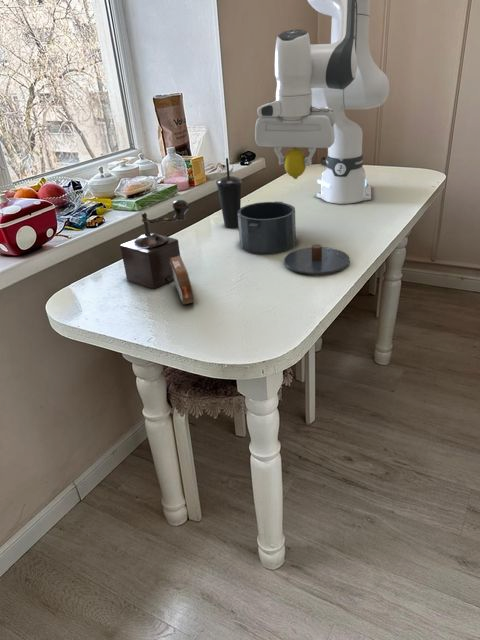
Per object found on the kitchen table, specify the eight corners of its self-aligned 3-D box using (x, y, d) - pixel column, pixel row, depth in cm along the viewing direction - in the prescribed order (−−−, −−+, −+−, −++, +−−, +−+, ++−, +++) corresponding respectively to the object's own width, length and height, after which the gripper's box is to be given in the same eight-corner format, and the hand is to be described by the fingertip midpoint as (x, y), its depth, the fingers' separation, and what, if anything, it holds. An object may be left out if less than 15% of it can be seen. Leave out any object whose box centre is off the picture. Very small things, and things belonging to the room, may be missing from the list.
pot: (227, 255, 145) (224, 221, 140) (255, 229, 162) (253, 197, 157) (282, 260, 140) (281, 225, 135) (305, 232, 157) (304, 200, 152)
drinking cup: (230, 220, 170) (224, 154, 159) (249, 223, 166) (245, 156, 155) (215, 227, 165) (208, 160, 154) (234, 231, 161) (229, 162, 150)
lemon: (304, 181, 138) (304, 149, 134) (283, 181, 139) (282, 149, 135) (307, 176, 143) (306, 144, 138) (286, 176, 144) (285, 145, 139)
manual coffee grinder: (155, 290, 128) (142, 217, 119) (125, 280, 134) (111, 209, 125) (200, 268, 139) (191, 198, 129) (170, 259, 145) (160, 192, 135)
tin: (196, 308, 119) (191, 274, 115) (182, 311, 119) (176, 276, 114) (185, 282, 132) (180, 249, 127) (172, 284, 131) (167, 251, 126)
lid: (275, 272, 134) (275, 255, 131) (295, 248, 147) (295, 232, 144) (341, 279, 128) (341, 261, 126) (355, 253, 141) (356, 237, 139)
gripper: (338, 104, 131) (337, 163, 138) (260, 105, 137) (262, 160, 145) (332, 108, 126) (331, 169, 133) (251, 109, 132) (254, 166, 140)
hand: (294, 164), depth 139 cm, fingers closed on lemon, 5 cm apart
